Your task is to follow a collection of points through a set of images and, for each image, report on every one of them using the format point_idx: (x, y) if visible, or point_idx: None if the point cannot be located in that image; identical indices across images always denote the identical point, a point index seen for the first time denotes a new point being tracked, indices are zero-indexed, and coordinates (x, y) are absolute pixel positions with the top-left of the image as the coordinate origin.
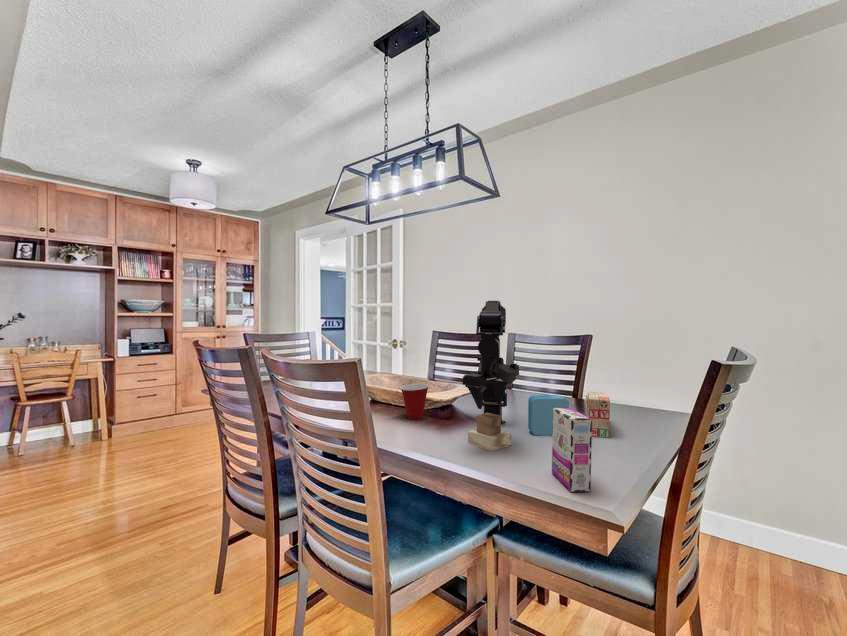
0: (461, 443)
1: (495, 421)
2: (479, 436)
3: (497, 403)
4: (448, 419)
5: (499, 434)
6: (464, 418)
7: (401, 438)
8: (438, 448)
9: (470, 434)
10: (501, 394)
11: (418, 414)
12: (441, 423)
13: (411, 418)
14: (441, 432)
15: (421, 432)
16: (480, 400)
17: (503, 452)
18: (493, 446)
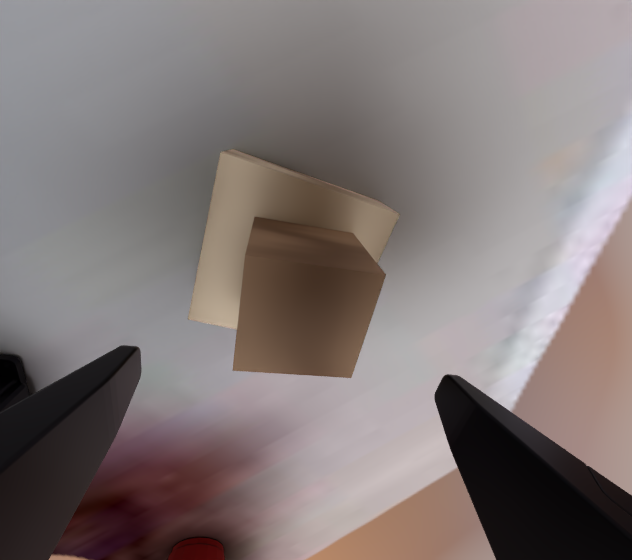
0: None
1: (313, 252)
2: None
3: (139, 376)
4: (122, 497)
5: (295, 204)
6: None
7: (401, 466)
8: (436, 358)
9: None
10: (42, 448)
11: (204, 557)
12: (185, 485)
13: (222, 548)
14: (276, 436)
15: (318, 467)
16: (557, 445)
17: (357, 135)
18: (359, 195)
